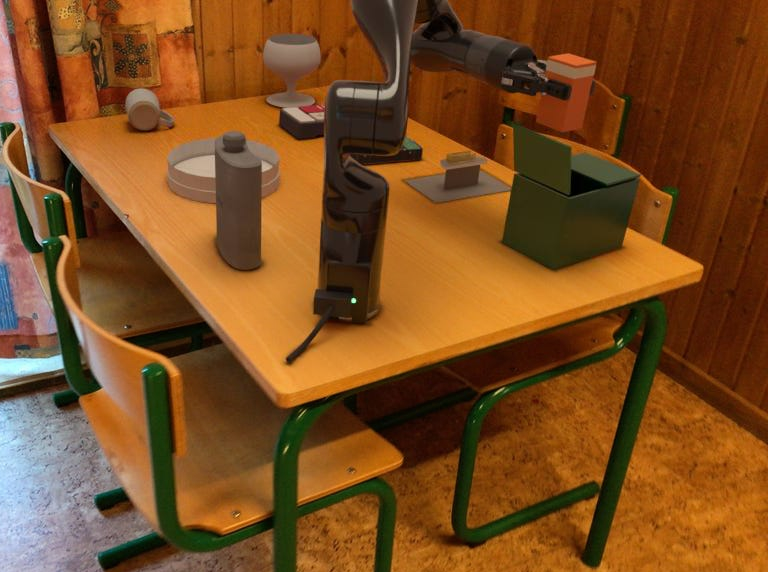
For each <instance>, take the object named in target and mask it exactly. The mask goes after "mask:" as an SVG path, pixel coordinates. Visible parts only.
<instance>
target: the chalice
mask: <svg viewBox="0 0 768 572" xmlns="http://www.w3.org/2000/svg"><path fill="white" fill-rule="evenodd" d="M262 53H263V54H262V61H263V65H264V66H265V68H267V69H266V70H268V71H270V72H271V73H273V74H274V75H276V76H278V77H279V78H281V79H282V80H283V81H284V82H285V83H286V87H287V88H286V91H285V92H277V93H274V94H271V95H269V96H267V97H266V102H267V103H268V104H270V105H272V106H275V107H279V108H299V106H313V105H314V104H315V103H316V99H315V98H314V97H313V96H311V95H309V94H305V93H301V92H296V89H295V88H296V85H297V83H298V82H299V81H300V80H301V79H303V78H305V77H306V76H309V75H311V74H312V73H314V72H315V71H316V70H317V69H318V68H319V67H320V64H321V59H322V56H321V55H322V54H321V49H320V45H319V43H318V40H317V38H315V37H314V36H311V35H308V34H302V33H301V34H300V33H281V34H280V33H278V34H274V35H271V36H269V37H268V39H267V40H266V42H265V44H264V48H263V52H262Z"/></svg>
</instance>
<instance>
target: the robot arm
mask: <svg viewBox="0 0 768 572" xmlns="http://www.w3.org/2000/svg"><path fill="white" fill-rule="evenodd" d="M350 9H351V14H352V16H353V19H354V22H355V24H356V26H357V27H358V29H359V31H360V33H361V34H362V36H363V38H364V39H365V40H366V42H367V43H368V45H369V47H370V48H371V50H372V51H373V53H374V55H375V57H376V58H377V61H378V62H379V65H380V68H381V71H382V74H383V78H384V82H380V81H365V80H351V79H337V80H334V81H333V82H331V84H330V85H329V87H328V89H327V92H326V95H325V99H324V105H325V107H324V135H323V179H322V193H321V217H320V235H319V250H318V251H319V253H318V254H319V255H318V269H317V271H318V272H317V273H318V274H317V288H315V290H314V295H313V309H312V314H313V315H316V316H322V317H321V318H320V320H319V321H318V322H317V324H316V325H315V327H314V328H313V329H312V331H311V332H310V333H309V335H307V337H306V338H305V339H304V340H303V341H302V343H300V345H299V346H298V347H296V348H295V349H294V350H293V351H292V352H291V353H290V354H288V355H287V357H286V358H285V360H286V362H287V363H292V361H294V360H295V359H296V358H297V357H298V356H299V355H300V354H301V353H302V352H304V350H306V348H307V347H308V346H309V345H310V344H311V342H312V341H313V340H314V339H315V338H316V337H317V335H318V334H319V333H320V331H321V330H322V328H323V327H324V326H325V324H326V323H327V322H328V321H332V322H341V323H343V322H344V323H352V324H353V323H354V324H363V325H364V324H365V325H366V324H367V322H368V320H370V319H372V318H373V317H375V316H376V315H377V314H378V312H379V310H380V295H381V286H382V285H381V283H382V273H383V264H384V263H383V262H384V253H385V252H384V251H385V242H386V231H387V222H388V212H389V201H390V189H391V187H390V183H389V181H388V179H387V178H385V176H384V175H382V174H380V173H379V172H377V171H375V170H373V169H371V168H369V167H367V166H364V164H360V163H358V162H357V161H355V160H354V159H353V158H352V157H351V156H350V154H349V153H351V154H363V155H373V154H374V155H377V156H391V155H395V154H397V153H398V152H399V151H400V149H401V148H402V146H403V143H404V140H405V136H407V135H406V134H407V129H408V122H409V109H410V106H409V105H410V81H411V65H413V66H414V67H415V68H417V69H418V70H420V71H424V72H428V73H459V74H461V75H463V76H466V77H469V78H472V79H474V80H476V81H477V82H479V83H482V84H484V85H487V86H489V87H492V88H495V89H497V90H500V91H503V92H505V93H507V94H522V95H526V96H530V97H535V96H537V94H539V95H540V96H541V95H543V96H545V95H550V96H553V97H556V98H559V99H561V100H569V99H570V96H571V91H572V86H571V85H569V84H566V83H563V82H560V81H557V80H554V79H553V80H551V78H550V77H547V76H545V72H546V66H547V61H548V60H543V59H538V57H537V55H536V52H535V50H534V49H533V48H532V47H531V46H530V45H527V44H523V43H520V42H517V41H514V40H510V39H507V38H505V37H501V36H498V35H497V36H496V35H489V34H486V33H483V32H479V31H476V30H472V29H464V27H463V24H462V22H461V21H460V19H459V17H458V16H457V14H456V13H455V11H454V10H453V8H452V5H451V4H450V2H449V0H350ZM415 24H418V25H420V26H419V27H418V28H416V29H415ZM595 87H596V81H595V80H594V79H593V81H592V85H591V90H590V94H589V96H592V95H593V94H594V92H595V91H594V90H595Z"/></svg>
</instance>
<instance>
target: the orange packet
mask: <svg viewBox="0 0 768 572" xmlns="http://www.w3.org/2000/svg"><path fill="white" fill-rule="evenodd" d="M546 61H547V66H546V72H545V76H547V77H550V78H551V80H553V79H554V80H557V81H560V82H563V83H566V84H569V85H571V86H572V91H571V96H570V99H569V100H561V99H559V98H556V97H553V96H550V95H545V96H543V95H540V98H539V104H538V107H537V113H536V118H535V123H536V124H540V125H541V126H545V127H547V128H550V129H552V130H554V131H557V132H560V133H567V132H571V131H575V130H579V129H582V128H583V125H584V120H585V116H586V111H587V107H588V103H589V98H590V95H589V94H590V90H591V85H592V81H593V80H594V76H595V72H596V69H597V61H596V60H592V59H588V58H586V57H581V56H578V55H576V54H572V53H562V54H557V55H551V56H548V58H547V60H546Z"/></svg>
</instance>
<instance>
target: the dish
mask: <svg viewBox="0 0 768 572" xmlns="http://www.w3.org/2000/svg"><path fill="white" fill-rule="evenodd" d="M216 138H217V137H210V138H201V139H195V140H191V141H188V142H184V143H182V144H179V145H177V146H175V147H174V148H172V149H171V150H170V151H169V152H168V154H167V157H166V161H167V172H166V177H167V186H168V187H169V188H170V190H171V191H172V192H174V193H175V194H176V195H177V196H180V197H183V198H185V199H187V200H192V201H195V202H200V203H207V204H216V183H215V140H216ZM246 140H247V146H248V148H249V150H250V151H251V153H252V154H254V155H255V156H256V157H258V158H259V159H260V160H261V162H262V198H265V197H267V196H269V195H271V194H273V193H274V192H275V191H276V190H278V188H279V186H280V184H281V172H280V155H279V152H277V151H276V150H275V148H273V147H272V146H269V145H268V144H265V143H262V142H258V141H256V140H251V139H246Z"/></svg>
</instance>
